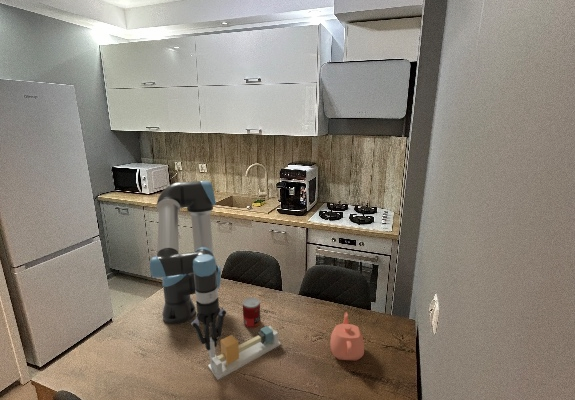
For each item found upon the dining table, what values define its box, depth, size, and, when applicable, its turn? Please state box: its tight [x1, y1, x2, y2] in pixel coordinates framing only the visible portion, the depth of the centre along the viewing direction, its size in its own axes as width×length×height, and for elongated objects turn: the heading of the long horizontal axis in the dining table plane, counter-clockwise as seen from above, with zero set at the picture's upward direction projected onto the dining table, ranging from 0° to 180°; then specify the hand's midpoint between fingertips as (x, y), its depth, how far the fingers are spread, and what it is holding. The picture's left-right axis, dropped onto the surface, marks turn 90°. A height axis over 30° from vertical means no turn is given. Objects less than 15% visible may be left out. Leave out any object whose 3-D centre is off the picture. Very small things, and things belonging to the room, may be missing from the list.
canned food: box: [242, 297, 261, 329], centre depth 144 cm, size 8×8×11 cm
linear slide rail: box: [207, 325, 282, 380], centre depth 125 cm, size 8×29×7 cm, turn 129°
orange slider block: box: [219, 334, 239, 365], centre depth 120 cm, size 5×5×8 cm
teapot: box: [329, 311, 365, 362], centre depth 126 cm, size 13×20×12 cm, turn 175°
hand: (211, 355), depth 115 cm, fingers closed
